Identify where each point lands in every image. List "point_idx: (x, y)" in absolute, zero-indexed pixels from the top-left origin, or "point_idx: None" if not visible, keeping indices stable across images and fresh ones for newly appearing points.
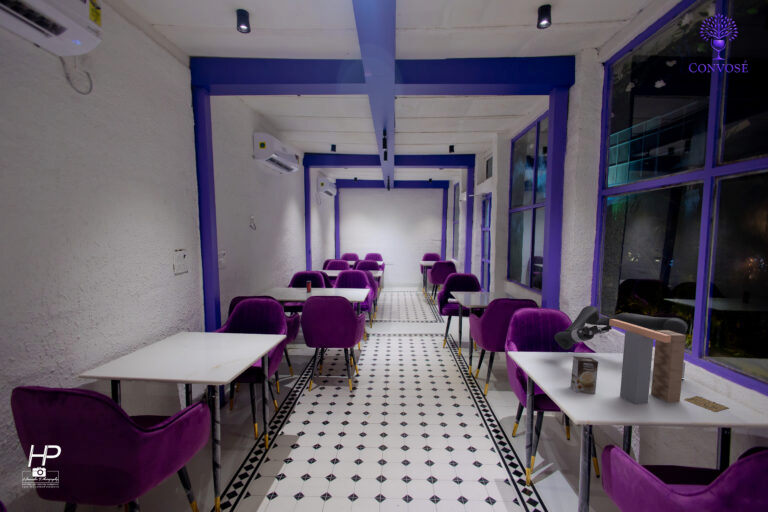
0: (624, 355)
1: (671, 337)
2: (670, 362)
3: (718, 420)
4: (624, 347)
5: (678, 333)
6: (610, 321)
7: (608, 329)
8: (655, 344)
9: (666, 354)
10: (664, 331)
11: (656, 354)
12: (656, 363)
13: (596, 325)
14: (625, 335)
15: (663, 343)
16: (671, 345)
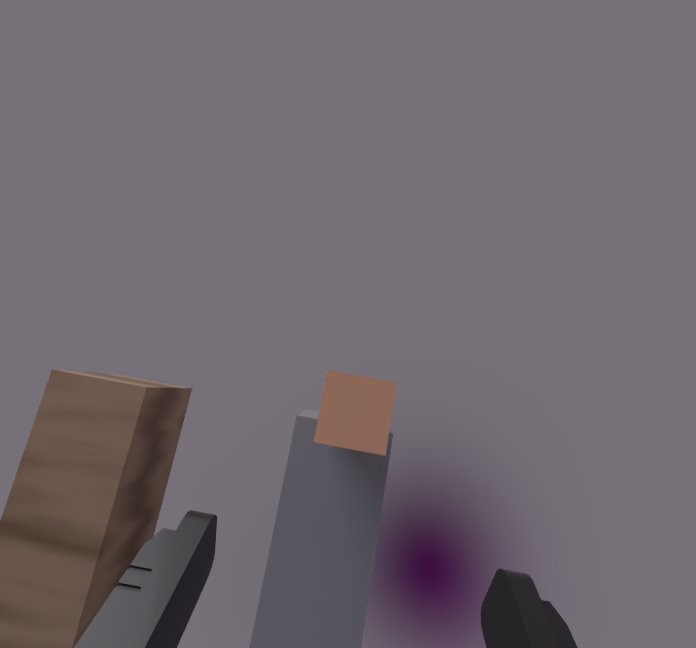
0: (364, 610)
1: (184, 401)
2: (150, 538)
3: None
4: (374, 551)
5: (106, 374)
6: (390, 407)
7: (185, 622)
8: (118, 488)
9: (149, 508)
10: (126, 381)
11: (105, 556)
12: (89, 624)
13: (504, 570)
14: (387, 461)
15: (154, 452)
16: (175, 442)
